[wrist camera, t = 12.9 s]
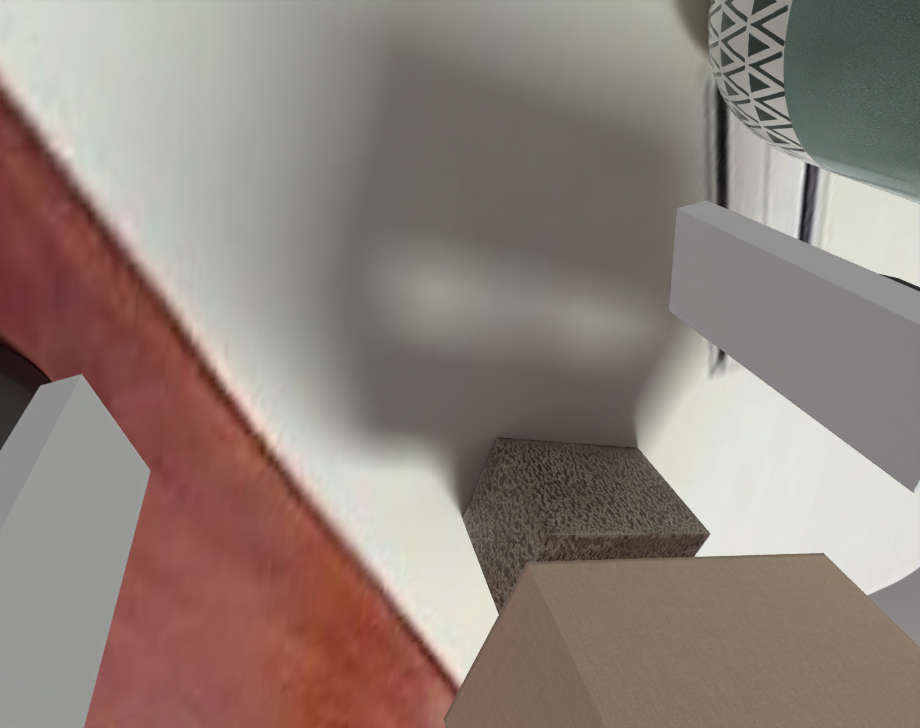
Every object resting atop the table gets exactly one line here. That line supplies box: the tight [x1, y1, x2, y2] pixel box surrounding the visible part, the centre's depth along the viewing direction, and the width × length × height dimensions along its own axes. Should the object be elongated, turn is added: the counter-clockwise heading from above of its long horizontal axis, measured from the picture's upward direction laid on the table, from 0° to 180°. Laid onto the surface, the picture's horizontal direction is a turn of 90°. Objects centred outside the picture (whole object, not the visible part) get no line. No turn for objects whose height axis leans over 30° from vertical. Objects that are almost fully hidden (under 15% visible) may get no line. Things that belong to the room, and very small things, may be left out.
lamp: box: [444, 438, 920, 728], centre depth 41 cm, size 29×18×41 cm, turn 72°
